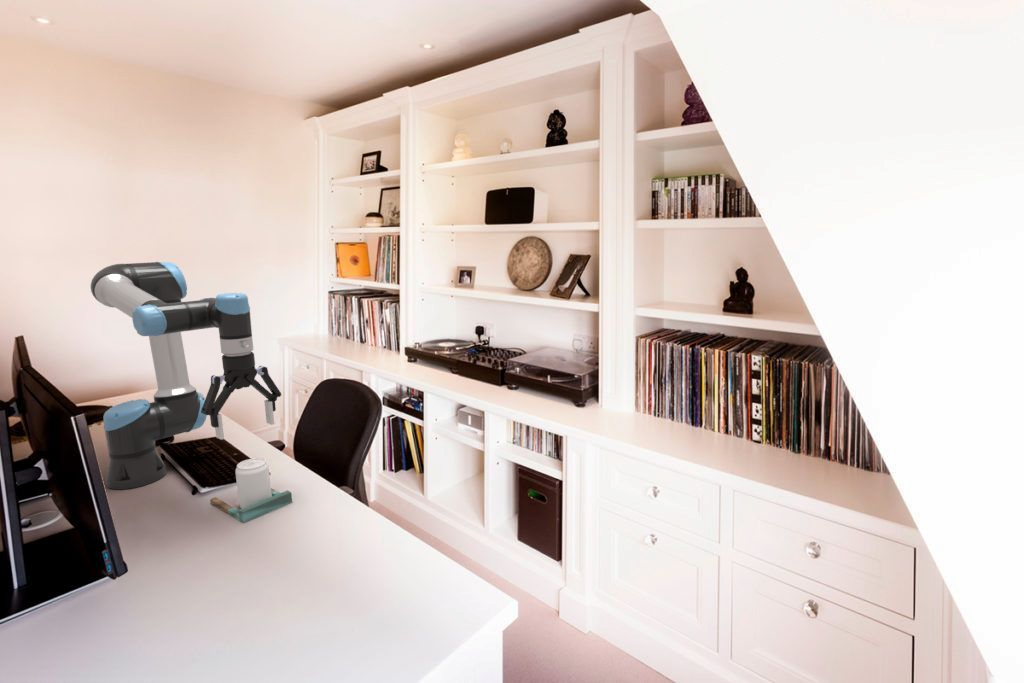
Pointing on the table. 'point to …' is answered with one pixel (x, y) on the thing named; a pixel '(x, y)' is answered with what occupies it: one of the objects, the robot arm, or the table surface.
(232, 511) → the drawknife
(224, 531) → the table surface
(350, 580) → the table surface
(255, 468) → the beverage can
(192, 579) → the table surface
